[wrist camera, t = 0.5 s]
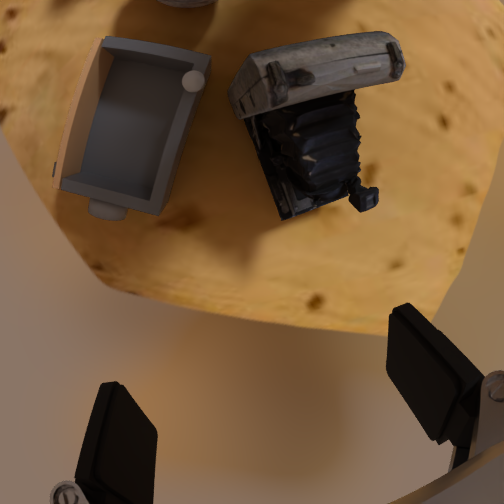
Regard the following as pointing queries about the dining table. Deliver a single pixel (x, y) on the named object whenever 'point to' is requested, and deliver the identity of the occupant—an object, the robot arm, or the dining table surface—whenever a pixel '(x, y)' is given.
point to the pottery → (187, 3)
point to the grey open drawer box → (139, 127)
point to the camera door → (82, 112)
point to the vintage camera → (313, 115)
